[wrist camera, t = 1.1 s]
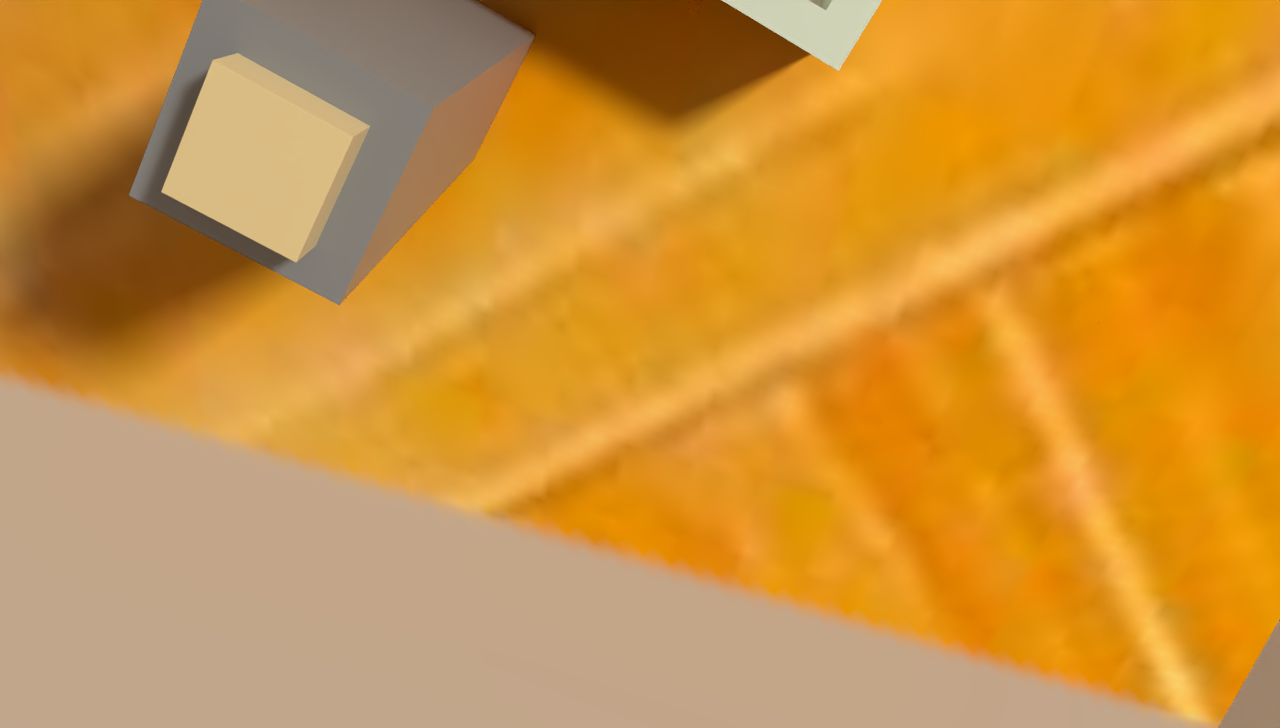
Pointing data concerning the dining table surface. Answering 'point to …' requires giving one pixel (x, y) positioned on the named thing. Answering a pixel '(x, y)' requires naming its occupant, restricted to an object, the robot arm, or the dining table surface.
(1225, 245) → the dining table surface
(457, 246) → the dining table surface
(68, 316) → the dining table surface
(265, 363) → the dining table surface
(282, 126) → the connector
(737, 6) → the walled box
